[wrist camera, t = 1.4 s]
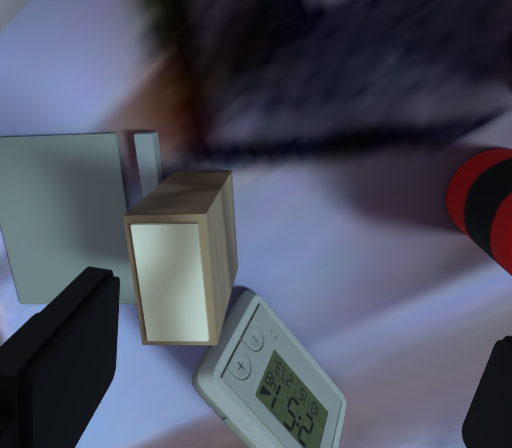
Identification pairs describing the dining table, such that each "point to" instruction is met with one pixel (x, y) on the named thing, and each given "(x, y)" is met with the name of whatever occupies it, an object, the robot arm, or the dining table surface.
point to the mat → (63, 212)
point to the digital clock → (268, 382)
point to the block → (183, 257)
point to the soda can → (485, 203)
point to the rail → (148, 161)
